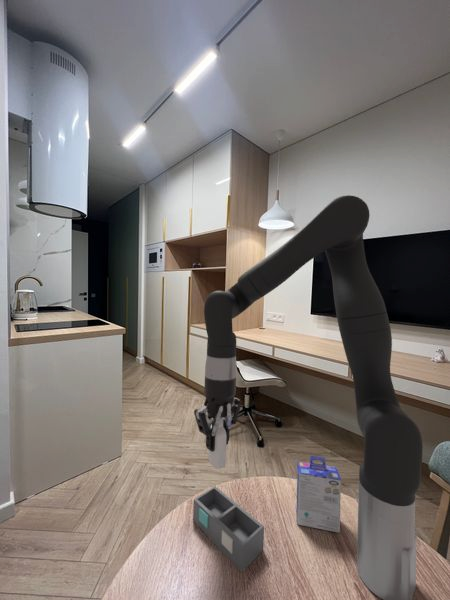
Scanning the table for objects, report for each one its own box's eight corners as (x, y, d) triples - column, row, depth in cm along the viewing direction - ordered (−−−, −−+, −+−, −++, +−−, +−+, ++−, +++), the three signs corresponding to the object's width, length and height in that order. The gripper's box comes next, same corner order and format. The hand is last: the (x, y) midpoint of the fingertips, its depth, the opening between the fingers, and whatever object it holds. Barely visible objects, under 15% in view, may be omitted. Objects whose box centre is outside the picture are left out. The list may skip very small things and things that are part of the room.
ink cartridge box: (335, 515, 64) (337, 456, 64) (341, 534, 58) (343, 470, 59) (295, 507, 66) (296, 451, 66) (296, 525, 60) (298, 464, 61)
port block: (263, 549, 54) (264, 526, 54) (240, 573, 49) (241, 547, 49) (214, 505, 65) (214, 485, 65) (191, 521, 60) (192, 499, 60)
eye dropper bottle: (226, 455, 63) (228, 407, 63) (225, 470, 57) (227, 417, 58) (209, 454, 63) (210, 406, 64) (205, 468, 58) (208, 415, 58)
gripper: (207, 383, 53) (204, 466, 53) (251, 373, 63) (249, 442, 63) (187, 375, 59) (184, 450, 58) (230, 366, 68) (228, 431, 68)
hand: (217, 446), depth 60 cm, fingers closed on eye dropper bottle, 3 cm apart
